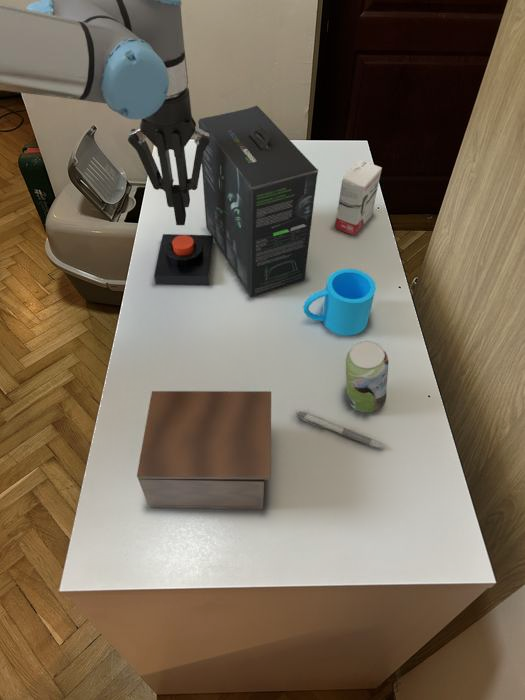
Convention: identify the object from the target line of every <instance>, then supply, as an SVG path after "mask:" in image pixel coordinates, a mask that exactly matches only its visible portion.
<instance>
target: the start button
mask: <svg viewBox="0 0 525 700" xmlns="http://www.w3.org/2000/svg"><path fill="white" fill-rule="evenodd" d="M179 235H180V236H177V237H175V238H174V239H173V241H172V245H173V251H174V253H175V254H177V255H188V254H191V253H193V251H194V240H193V238H192V237H190V236H187V235H188V234H179Z"/></svg>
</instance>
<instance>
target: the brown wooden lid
mask: <svg viewBox="0 0 525 700" xmlns="http://www.w3.org/2000/svg"><path fill="white" fill-rule="evenodd" d="M271 468H272V391H268V390H267V391H265V390H263V391H261V390H260V391H259V390H257V391H255V390H254V391H253V390H252V391H249V390H248V391H246V390H245V391H243V390H242V391H237V390H234V391H232V390H231V391H230V390H229V391H224V390H223V391H220V390H219V391H218V390H217V391H215V390H214V391H213V390H212V391H211V390H207V391H206V390H204V391H203V390H202V391H201V390H199V391H198V390H197V391H195V390H194V391H193V390H192V391H189V390H183V391H181V390H174V391H173V390H155V391H154V390H151V393H150V399H149V405H148V411H147V416H146V422H145V428H144V434H143V439H142V444H141V449H140V456H139V461H138V467H137V472H136V478H137V480H138V479H264V480H267V481H268V480H271V478H272V476H271V474H272V469H271Z"/></svg>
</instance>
